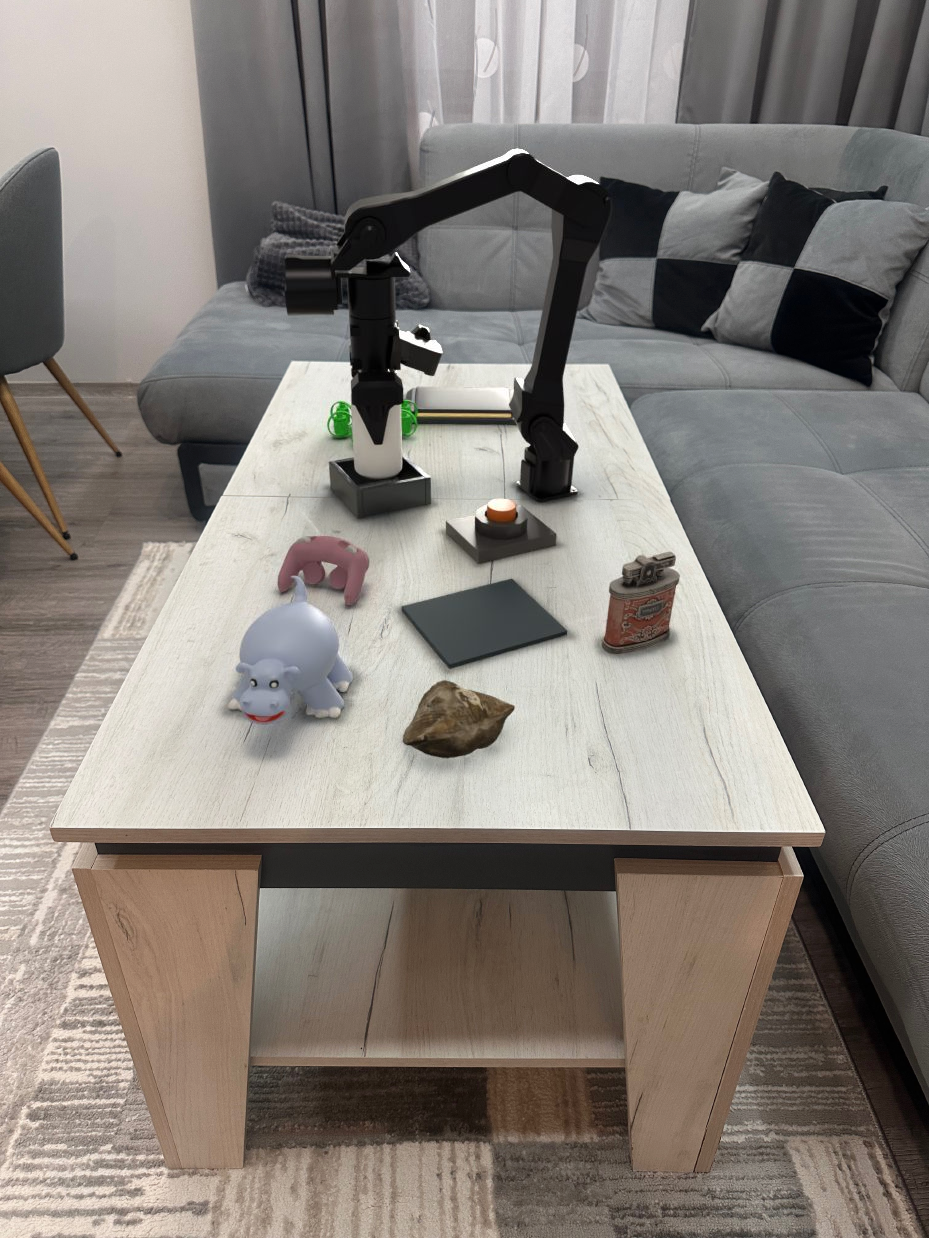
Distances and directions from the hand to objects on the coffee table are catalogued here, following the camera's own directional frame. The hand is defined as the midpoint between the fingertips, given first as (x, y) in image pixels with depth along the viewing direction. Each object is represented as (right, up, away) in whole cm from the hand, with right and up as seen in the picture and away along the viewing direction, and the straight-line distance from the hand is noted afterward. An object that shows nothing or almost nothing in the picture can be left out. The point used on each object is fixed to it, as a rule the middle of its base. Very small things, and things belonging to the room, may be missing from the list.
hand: (377, 435), depth 116 cm
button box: (+16, -14, -5) cm, 22 cm away
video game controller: (-4, -21, -16) cm, 27 cm away
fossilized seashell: (+11, -35, -37) cm, 53 cm away
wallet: (+11, +11, +34) cm, 38 cm away
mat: (+14, -25, -21) cm, 35 cm away
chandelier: (-3, +5, +24) cm, 25 cm away
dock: (0, -7, +5) cm, 9 cm away
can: (0, -4, +3) cm, 5 cm away
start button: (+16, -12, -7) cm, 21 cm away
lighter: (+30, -27, -23) cm, 46 cm away
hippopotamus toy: (-5, -32, -33) cm, 46 cm away
